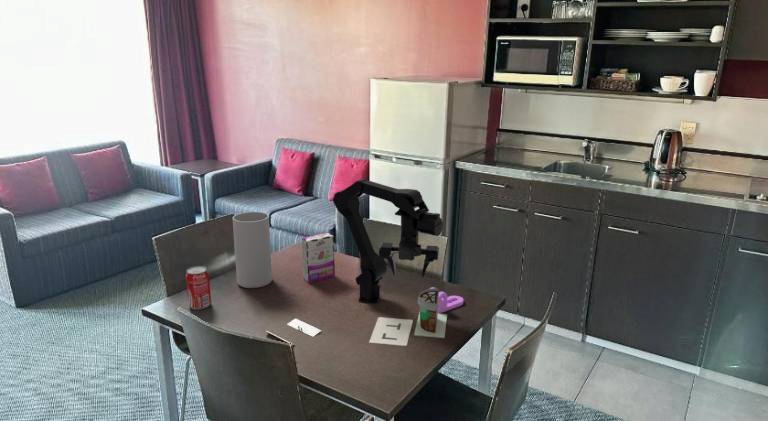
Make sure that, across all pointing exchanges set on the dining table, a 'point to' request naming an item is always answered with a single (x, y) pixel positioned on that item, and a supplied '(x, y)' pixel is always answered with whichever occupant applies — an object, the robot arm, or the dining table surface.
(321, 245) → the candy bar box
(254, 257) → the cylinder vase
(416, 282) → the dining table surface
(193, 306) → the soda can
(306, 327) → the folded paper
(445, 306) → the bracket
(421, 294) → the food container
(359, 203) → the robot arm
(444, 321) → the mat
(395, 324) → the pad
